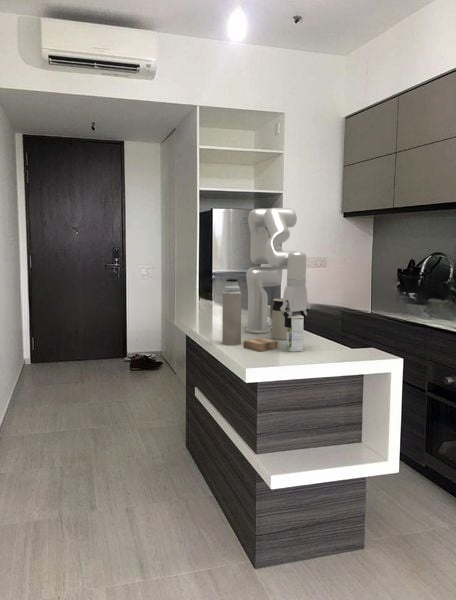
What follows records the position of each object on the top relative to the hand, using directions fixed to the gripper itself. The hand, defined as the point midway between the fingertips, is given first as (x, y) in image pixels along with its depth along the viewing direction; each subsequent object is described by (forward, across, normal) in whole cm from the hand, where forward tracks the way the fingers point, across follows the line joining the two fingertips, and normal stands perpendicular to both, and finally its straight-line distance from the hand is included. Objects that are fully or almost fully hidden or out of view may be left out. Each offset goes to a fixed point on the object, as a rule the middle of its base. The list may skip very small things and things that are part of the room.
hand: (295, 326), depth 216 cm
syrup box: (+10, 0, 0) cm, 10 cm away
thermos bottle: (+10, +11, -27) cm, 31 cm away
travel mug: (+10, -14, -22) cm, 28 cm away
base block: (+10, +8, -12) cm, 17 cm away
